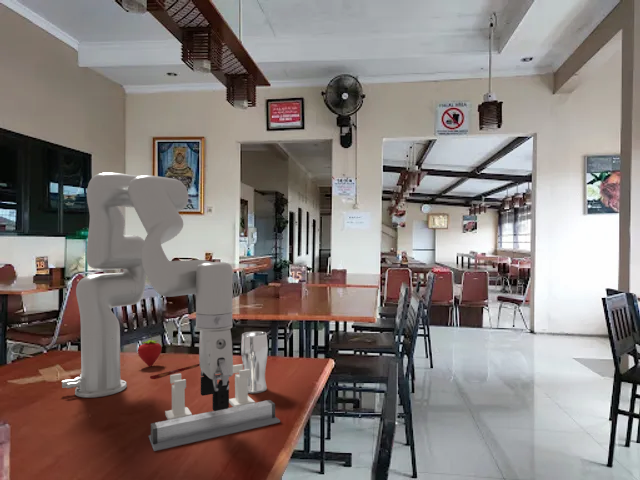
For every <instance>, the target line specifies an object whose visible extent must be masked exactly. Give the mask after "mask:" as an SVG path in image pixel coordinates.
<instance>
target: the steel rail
mask: <svg viewBox="0 0 640 480" xmlns="http://www.w3.org/2000/svg"><path fill="white" fill-rule="evenodd" d="M275 417H276V403H275V402H273V401H272V400H271V399H267V400H262V401H258V402H257V401H255V403H251V404H246V405H241V406H236V407H233V406H231V407H229V408H228V409H224V410H218V411H214V410H212V411H208V412H207V411H206V412H202V413H201V412H200V413H197V414H192V415H191V416H186V417H181V418H176V419H171V420H168V419H166V420H162V421H157V422H152V423H150V435H151V440H152V443H153V444H158V443H162V442H167V441H171V440H176V439H180V438H185V437H189V436H194V435H198V434H203V433H207V432H212V431H216V430H221V429H225V428H230V427H234V426H239V425H243V424H248V423H252V422H257V421H261V420H266V419H270V418H275Z"/></svg>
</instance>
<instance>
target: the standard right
mask: <svg viewBox="0 0 640 480" xmlns="http://www.w3.org/2000/svg"><path fill="white" fill-rule="evenodd" d="M233 374H234V397H233V398H229V405H230V406H231V407H236V406H241V405H246V404H251V403H256V401H255V400H254V399H252V398H251V397H250V396H249V393H248V377H250V369H245V370H244V367H243V363H240V364H233Z"/></svg>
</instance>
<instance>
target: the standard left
mask: <svg viewBox="0 0 640 480" xmlns="http://www.w3.org/2000/svg"><path fill="white" fill-rule="evenodd" d="M169 383H170V384H171V409H169V410H164V414H165V418H166V420H171V419H176V418H181V417H186V416H191V415H193V414H192V412H191V410H190V409H189V408H188V407H187V406H186V405H185V404H186V403H185V402H186V401H185V399H186V398H185V397H186V395H185V393H186V392H185V389H187V379H185V378H184V379H182V373H180V372H179V373H173V374H170V375H169Z"/></svg>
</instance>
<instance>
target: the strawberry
mask: <svg viewBox="0 0 640 480" xmlns="http://www.w3.org/2000/svg"><path fill="white" fill-rule="evenodd" d="M149 337H150V338H151V339H148V340H146V341H142V342H141V343H142V344H141V345H140V346H138V348H137V354H138V357H139V358H140V359H141V360H142V362H144V363H145V364H146V366H148V367H152V366H154V363H155V362H156V361H157V359H158V358H159V357H160V355H161V353H162V349H163V348H162V344H160V343H159V342H158V340H153V338H152V336H151V335H149Z"/></svg>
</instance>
